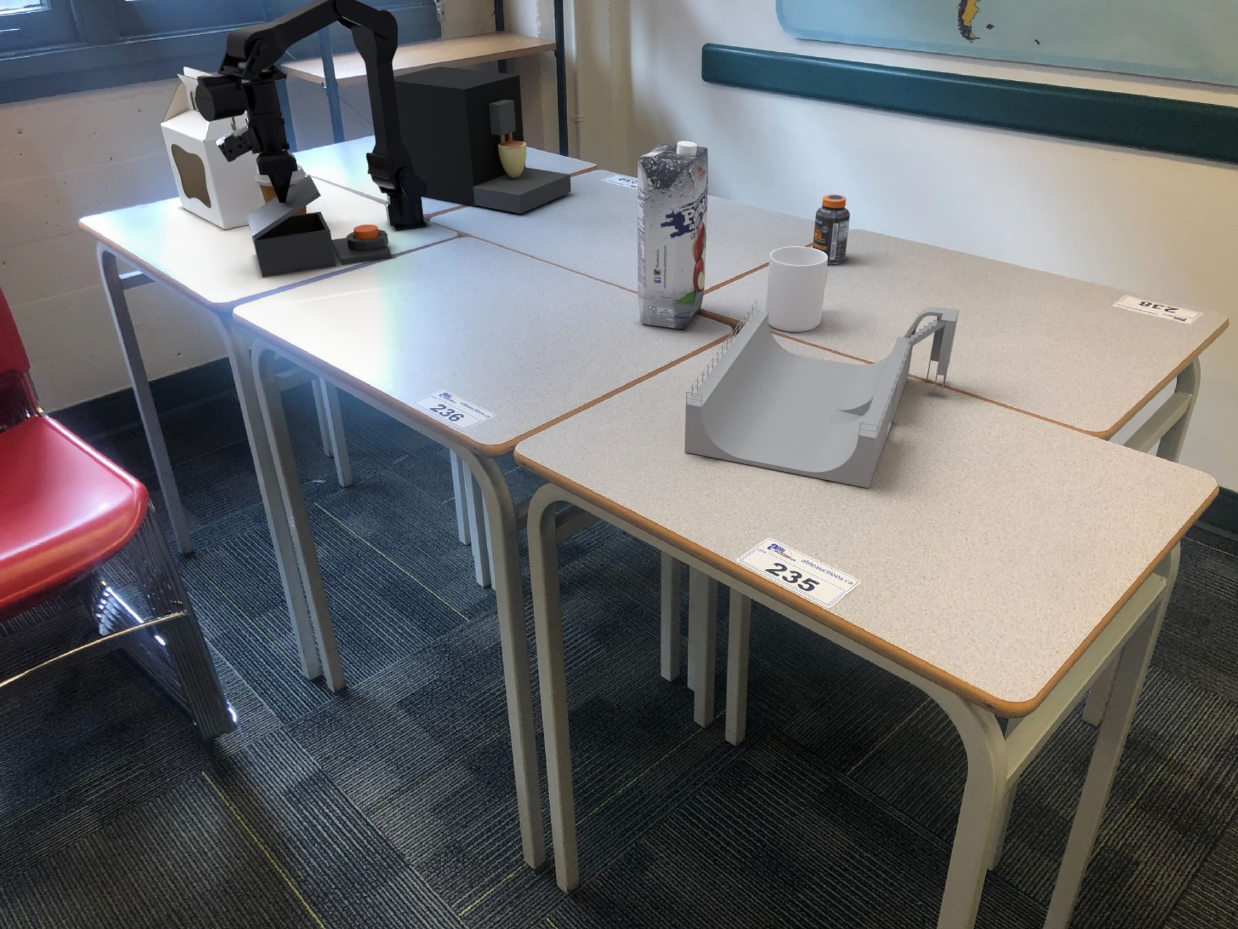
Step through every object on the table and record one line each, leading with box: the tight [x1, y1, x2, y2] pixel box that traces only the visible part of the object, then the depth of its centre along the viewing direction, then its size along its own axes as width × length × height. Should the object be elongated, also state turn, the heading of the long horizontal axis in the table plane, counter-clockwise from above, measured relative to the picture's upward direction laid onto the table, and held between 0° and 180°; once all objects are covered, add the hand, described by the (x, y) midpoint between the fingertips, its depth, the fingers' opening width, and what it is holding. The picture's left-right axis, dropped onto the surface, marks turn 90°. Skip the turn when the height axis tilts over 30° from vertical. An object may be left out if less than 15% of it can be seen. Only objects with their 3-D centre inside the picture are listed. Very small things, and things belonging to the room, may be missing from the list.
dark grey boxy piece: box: [251, 211, 337, 278], centre depth 173 cm, size 13×12×7 cm
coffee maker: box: [394, 66, 572, 215], centre depth 204 cm, size 18×35×24 cm, turn 57°
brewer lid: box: [247, 174, 322, 240], centre depth 170 cm, size 14×12×1 cm
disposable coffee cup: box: [255, 163, 308, 215], centre depth 188 cm, size 10×10×12 cm
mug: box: [765, 245, 829, 333], centre depth 146 cm, size 9×12×11 cm
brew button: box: [353, 224, 379, 240], centre depth 177 cm, size 4×4×2 cm
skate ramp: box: [684, 299, 960, 489], centre depth 119 cm, size 30×27×11 cm
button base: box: [332, 228, 392, 266], centre depth 178 cm, size 10×12×3 cm
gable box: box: [160, 66, 266, 231], centre depth 194 cm, size 22×13×28 cm, turn 43°
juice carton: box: [636, 140, 709, 330], centre depth 143 cm, size 9×10×27 cm
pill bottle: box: [812, 193, 851, 265], centre depth 168 cm, size 6×6×11 cm
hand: (282, 202), depth 169 cm, fingers closed
